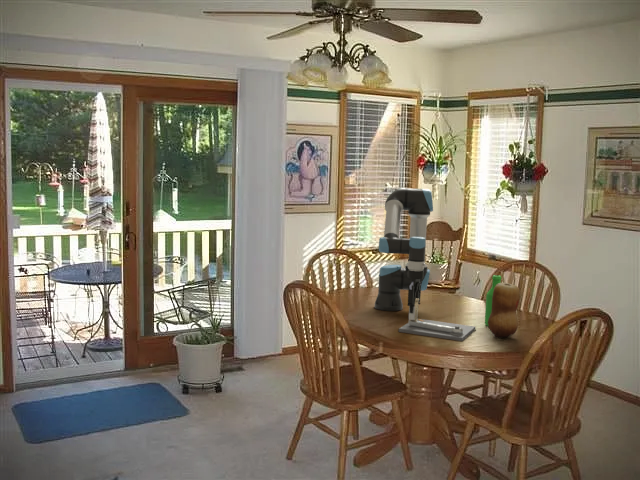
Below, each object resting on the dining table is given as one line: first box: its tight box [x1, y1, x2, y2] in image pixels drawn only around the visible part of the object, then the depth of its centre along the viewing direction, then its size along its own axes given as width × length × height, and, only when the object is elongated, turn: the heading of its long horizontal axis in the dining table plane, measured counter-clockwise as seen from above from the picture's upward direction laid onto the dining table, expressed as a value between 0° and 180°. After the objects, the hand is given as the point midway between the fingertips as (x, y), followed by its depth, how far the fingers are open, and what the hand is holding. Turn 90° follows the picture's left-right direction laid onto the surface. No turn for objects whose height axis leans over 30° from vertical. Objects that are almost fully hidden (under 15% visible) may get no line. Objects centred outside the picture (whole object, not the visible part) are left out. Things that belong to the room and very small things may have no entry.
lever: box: [407, 298, 463, 334], centre depth 316 cm, size 27×5×13 cm, turn 56°
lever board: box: [398, 318, 476, 342], centre depth 322 cm, size 30×24×2 cm
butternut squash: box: [487, 282, 521, 339], centre depth 313 cm, size 14×13×25 cm
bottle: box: [484, 274, 502, 327], centre depth 334 cm, size 9×9×25 cm
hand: (413, 318), depth 323 cm, fingers closed on lever, 4 cm apart
